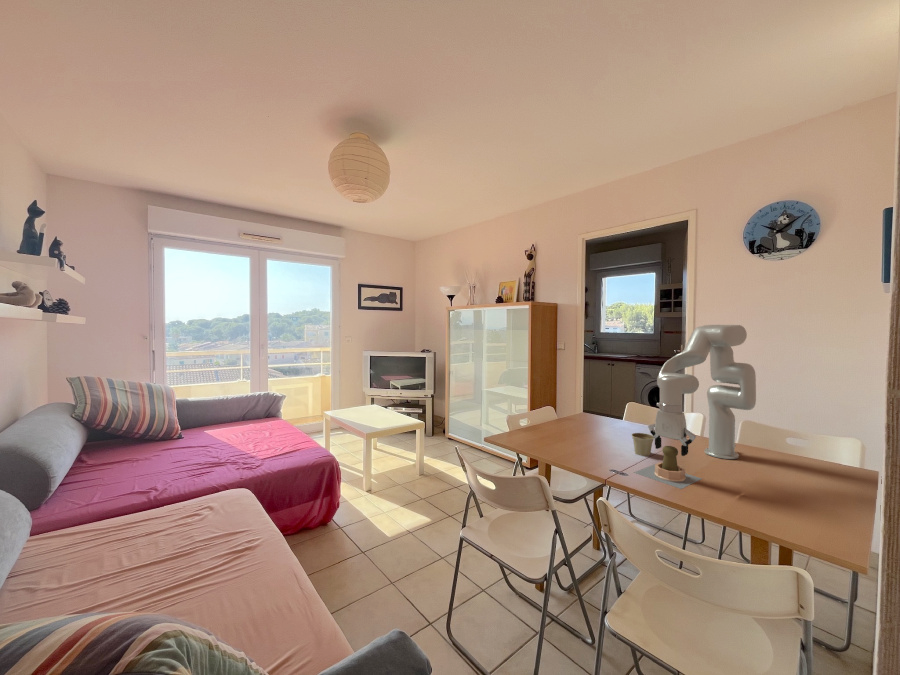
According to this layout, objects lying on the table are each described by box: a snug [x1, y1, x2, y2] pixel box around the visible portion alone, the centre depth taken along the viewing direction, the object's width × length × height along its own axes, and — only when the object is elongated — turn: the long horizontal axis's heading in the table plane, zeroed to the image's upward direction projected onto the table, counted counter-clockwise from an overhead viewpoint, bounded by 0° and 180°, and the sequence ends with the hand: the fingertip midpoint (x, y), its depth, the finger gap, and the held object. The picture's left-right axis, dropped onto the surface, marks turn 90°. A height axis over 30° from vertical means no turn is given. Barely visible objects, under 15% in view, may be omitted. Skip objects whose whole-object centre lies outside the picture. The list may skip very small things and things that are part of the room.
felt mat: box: [633, 463, 703, 490], centre depth 146 cm, size 16×18×1 cm
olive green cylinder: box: [662, 445, 679, 471], centre depth 145 cm, size 6×6×11 cm
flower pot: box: [630, 432, 655, 457], centre depth 171 cm, size 9×9×9 cm
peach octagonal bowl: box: [655, 462, 686, 482], centre depth 145 cm, size 10×10×4 cm
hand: (671, 451), depth 145 cm, fingers open, 9 cm apart
